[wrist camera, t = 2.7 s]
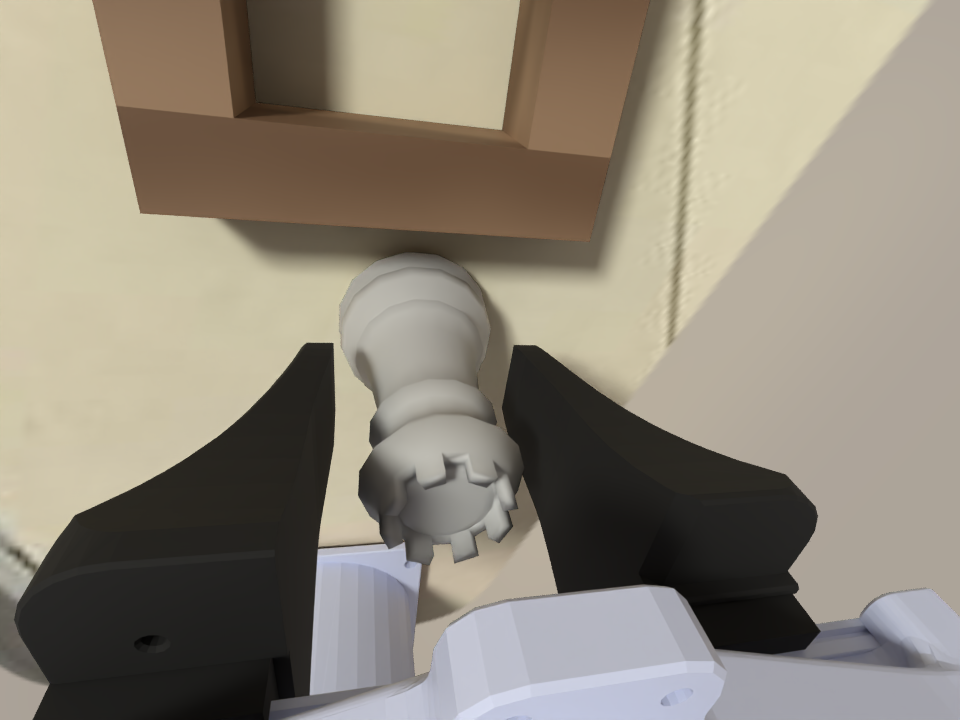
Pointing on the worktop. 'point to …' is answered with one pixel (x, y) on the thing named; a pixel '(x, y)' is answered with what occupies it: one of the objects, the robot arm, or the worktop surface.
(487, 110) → the worktop surface
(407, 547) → the rook chess piece
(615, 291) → the worktop surface
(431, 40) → the worktop surface
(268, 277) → the worktop surface
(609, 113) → the walnut docking collar
